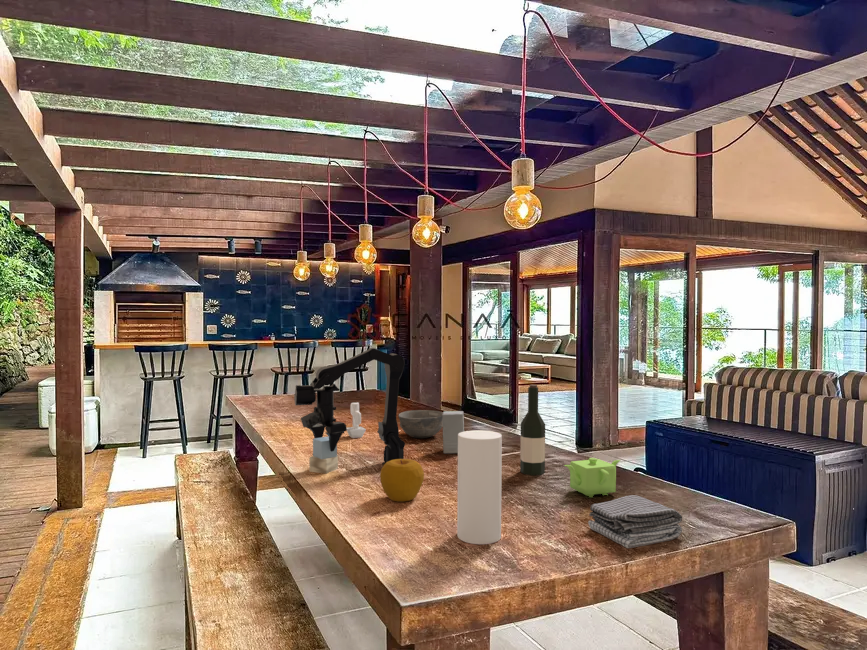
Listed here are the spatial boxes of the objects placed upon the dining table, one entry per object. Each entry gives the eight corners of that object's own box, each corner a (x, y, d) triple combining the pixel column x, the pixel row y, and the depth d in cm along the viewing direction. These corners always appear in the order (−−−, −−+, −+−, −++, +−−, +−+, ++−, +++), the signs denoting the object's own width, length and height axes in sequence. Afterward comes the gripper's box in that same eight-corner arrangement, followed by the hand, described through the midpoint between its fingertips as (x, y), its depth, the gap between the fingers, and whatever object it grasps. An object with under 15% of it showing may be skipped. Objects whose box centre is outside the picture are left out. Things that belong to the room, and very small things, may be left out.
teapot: (563, 496, 177) (564, 461, 177) (570, 484, 190) (570, 451, 189) (617, 502, 172) (617, 466, 171) (620, 489, 184) (620, 455, 184)
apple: (375, 494, 178) (375, 456, 178) (415, 490, 183) (416, 453, 182) (387, 507, 166) (387, 467, 166) (430, 502, 171) (430, 463, 170)
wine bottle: (544, 476, 199) (545, 386, 198) (519, 474, 201) (520, 386, 200) (545, 469, 207) (545, 384, 206) (520, 468, 209) (521, 383, 208)
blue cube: (337, 456, 205) (336, 439, 205) (321, 459, 201) (321, 441, 201) (328, 453, 209) (328, 436, 209) (313, 455, 206) (312, 438, 205)
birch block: (337, 469, 207) (337, 455, 207) (326, 474, 201) (326, 459, 201) (321, 467, 210) (321, 453, 210) (309, 471, 203) (309, 457, 203)
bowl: (391, 433, 267) (391, 411, 267) (432, 430, 276) (432, 408, 275) (408, 443, 248) (408, 419, 248) (452, 438, 257) (452, 415, 257)
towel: (684, 539, 145) (685, 507, 145) (624, 550, 138) (625, 517, 138) (641, 519, 159) (641, 489, 159) (584, 528, 152) (584, 497, 152)
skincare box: (464, 450, 236) (464, 410, 235) (463, 454, 229) (464, 413, 228) (443, 449, 237) (443, 410, 236) (441, 453, 229) (442, 413, 229)
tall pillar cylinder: (497, 527, 151) (498, 430, 150) (504, 544, 140) (504, 439, 140) (455, 528, 151) (456, 430, 150) (459, 544, 140) (459, 439, 139)
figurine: (350, 439, 254) (350, 404, 254) (344, 435, 263) (344, 401, 262) (366, 438, 257) (367, 403, 257) (360, 434, 266) (360, 400, 265)
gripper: (291, 403, 207) (291, 447, 207) (318, 409, 193) (318, 457, 193) (319, 400, 214) (319, 443, 214) (347, 406, 200) (347, 452, 200)
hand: (325, 448), depth 205 cm, fingers open, 9 cm apart
